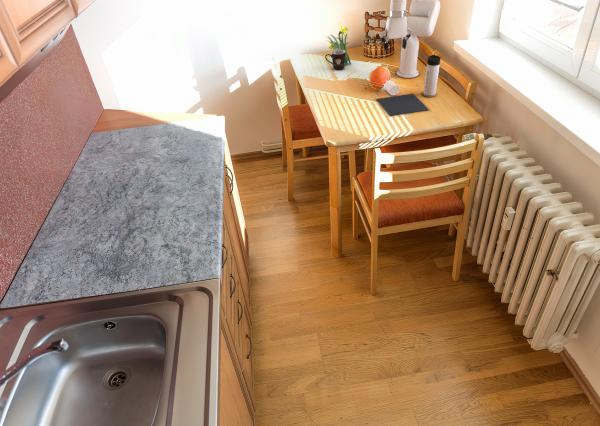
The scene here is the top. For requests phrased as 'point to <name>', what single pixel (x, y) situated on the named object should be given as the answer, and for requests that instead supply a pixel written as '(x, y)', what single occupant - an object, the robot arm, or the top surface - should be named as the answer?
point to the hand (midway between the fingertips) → (394, 49)
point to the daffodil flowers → (341, 46)
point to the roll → (391, 87)
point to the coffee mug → (337, 59)
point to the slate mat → (402, 104)
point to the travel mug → (431, 76)
